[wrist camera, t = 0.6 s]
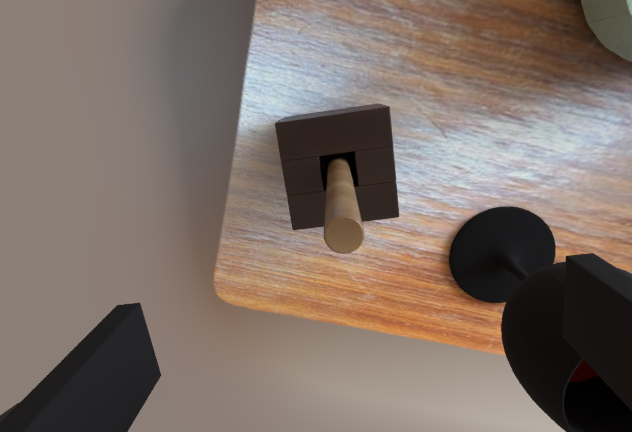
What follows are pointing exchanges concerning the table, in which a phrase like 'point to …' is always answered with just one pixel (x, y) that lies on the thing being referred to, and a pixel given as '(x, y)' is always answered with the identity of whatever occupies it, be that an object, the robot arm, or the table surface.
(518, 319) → the wine glass
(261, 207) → the table surface
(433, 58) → the table surface
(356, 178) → the stand
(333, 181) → the stick
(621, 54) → the bowl
